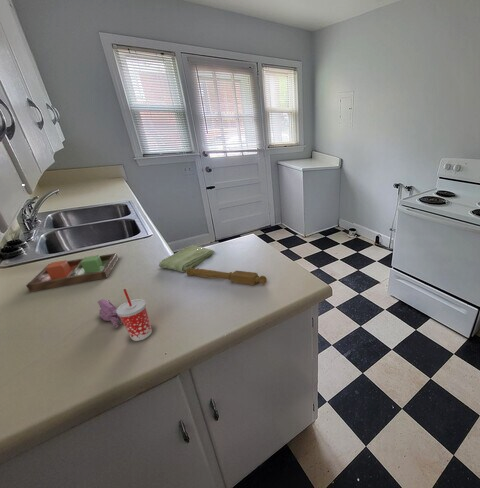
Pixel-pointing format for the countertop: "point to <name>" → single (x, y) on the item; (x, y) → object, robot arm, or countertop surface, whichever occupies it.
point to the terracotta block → (58, 269)
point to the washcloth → (186, 258)
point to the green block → (92, 263)
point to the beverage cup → (135, 318)
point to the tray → (73, 274)
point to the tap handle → (229, 276)
